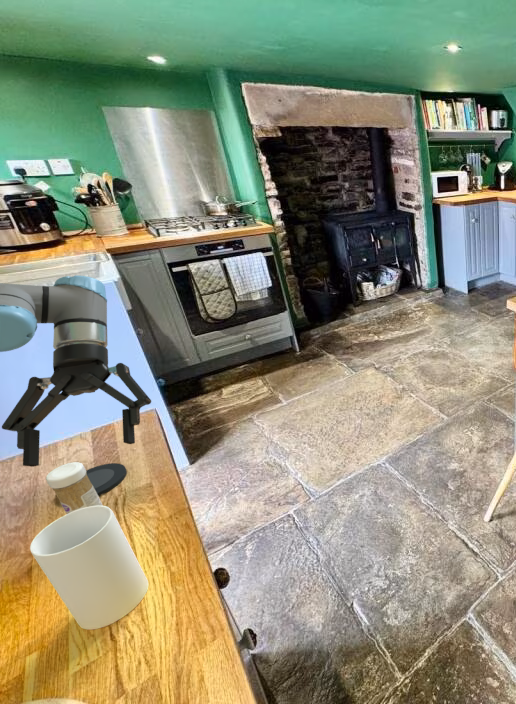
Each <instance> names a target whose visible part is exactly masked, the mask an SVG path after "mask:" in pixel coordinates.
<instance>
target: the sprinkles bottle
mask: <svg viewBox="0 0 516 704" xmlns="http://www.w3.org/2000/svg"><path fill="white" fill-rule="evenodd" d="M86 470H87V469H86V467H85V465H84V464H83V463H82V462H78V461H73V462H68V463H64V464H61V465H59V466H58V467H56V468H54V469H52V470H51V471H50V472H48V473H47V475H46V476H45V481H46V483H47V485H48V487H49V488H51V489H52V490H53V492H54V493H55V495H56V496H57V499H58V500H59V502H60V505H61V507H62V509H63V511H64V512H65V515H66V514H68V513H71V512H73V511H76V510H79V509H82V508H85V507H89V506H96V505H102V506H104V505H103V503H102V500H101V499H100V496H98V494H97V493H96V491H95V489H94V487H93V485H92V484H91V482H90V480H89V478H88V476H87V473H86Z"/></svg>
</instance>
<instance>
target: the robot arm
mask: <svg viewBox="0 0 516 704" xmlns="http://www.w3.org/2000/svg"><path fill="white" fill-rule="evenodd" d="M106 293H107V292H106V286H105V284H104V283H103V282H102V281H100V280H99V279H97V278H95V277H91V276H87V275H73V276H70V275H66V276H61V277H59V278H57V279H56V280H55V281H54V284H53V285H34V284H17V283H6V282H5V283H4V282H0V353H3V352H10V351H15V350H17V349H19V348H22V347H24V346H26V345H27V344H29V342H31V340H32V339H33V338H34V336H35V333H36V332H37V330H38V324H53V342H52V343H53V344H52V347H53V349H54V350H53V352H52V369H53V373H52V375H51V376H48V377H38V376H32V377H30V378H29V380H28V383H27V388H26V390H25V391H24V393H23V394H22V396H21V397H20V399H19V400H18V402H17V403H16V405H15V406H14V407H13V409H12V410H11V412H10V413H9V415H8V416H7V418H6V419H5V421H4V422H3V423H2V425H1V429H2V430H4V431H5V430H6V431H9V432H16V433H17V435H16V447H17V449H19V450H23V453H22V466H23V467H32V468H33V467H38V466H40V436H41V435H40V433H41V431H40V430H39V429H36V428H37V427H38V426H39V425H40V424H41V423H42V422H43V421H44V420H45V419H46V418H47V417H48V416H49V415H50V414H51V413H52V412H53V411H54V410H55V409H56V408H57V407H58V406H59V405H60V404H61V403H62V402H63V401H65V400H67V399H68V397H70V396H73V397H75V396H80V395H83V394H92V393H95V392H96V391H98V390H100V391H103V392H104V393H105V394H107V395H108V396H110V397H112V398H113V399H114V400H116V401H118V402H119V403H121V404H122V405H124V406H125V407H126V408H123V409H122V414H121V415H122V438H123V439H122V441H123V444H127V445H134V444H136V438H135V437H136V436H135V426H139V425H140V423H141V415H140V414H141V413H140V410H141V409H142V408H143V407H145V406H148V405H151V403H152V399H151V398H150V396H148V395H147V393H146V392H145V391H144V390H143V388H142V387H141V386H140V385H139V384H138V383H137V381H136V379H134V378H133V377H132V375H131V372H130V367H129V366H127V365H126V364H124V363H123V362H118V363H116V364H115V366H111V367H109V349H108V348H107V347H108V346H109V345H108V299H107V294H106ZM112 374H113V375H114V376H116V377H118V378H119V379H120V380H121V381H122V382H123V384H124V385H125V387H126V388H127V389H128V390H129V391H130V392H131V393H132V395H133V396H134V397H135V398H136V400H133V399H131V398H130V397H128V396H127V395H125V394H124V393H123V392H121V391H119V390H118V389H117V388H115V387H113V386H112V385H110V384H109V383H108V382H106V381H107V380H108V379H109V377H110V376H112ZM50 385H53V387H52V389H50V390H49V391H48V392H47V395H46V396H45V398H43V399H42V401H40V399H41V398H42V396H43V395H44V393H45V390H47V389H49V386H50ZM39 401H40V402H39ZM38 402H39V403H38ZM37 404H38V405H37Z"/></svg>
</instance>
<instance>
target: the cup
mask: <svg viewBox="0 0 516 704" xmlns="http://www.w3.org/2000/svg"><path fill="white" fill-rule="evenodd" d="M29 550H30V553H31V555H32V557H33V558H34V559H35V561H36V563H37V564H38V565H39V568H40V569H41V570H42V572H43V573H44V575H45V576H46V578H47V579H48V582H49V583H50V584H51V585H52V587H53V588H54V590H55V591H56V593H57V594H58V596H59V598H60V599H61V601H62V602H63V603H64V605H65V606H66V608H67V610H68V611H69V612H70V615H72V618H74V620H75V622H76V623H77V624H78V626H79V628H81V629H84V630H88V631H89V630H98V629H101V628H104V627H105V628H106V627H107V626H110V625H112V624H114V623H116V622H118V621H119V620H121V619H122V618H124V617H125V616H127V615H128V614H130V613H131V612H132V611H133V610H134V609H135V608H136V607H137V606H138V605H139V604H140V603H141V602H142V601H143V599H144V598H145V596H146V595H147V593H148V590H149V585H150V584H149V580H148V578H147V576H146V574H145V572H144V570H143V568H142V566H141V564H140V562H139V561H138V558H137V556H136V554H135V553H134V550H133V548H132V547H131V544H130V542H129V541H128V539H127V537H126V534H125V533H124V531H123V529H122V526H121V524H120V522H119V521H118V519H117V516H116V514H115V513H114V510H112V509H111V508H110V507H109V506H108V505H107V506H106V505H103V506H102V505H96V506H89V507H85V508H82V509H79V510H76V511H73V512H71V513H68V514H66V513H65V515H62V516H61V517H59V518H57V519H56V520H54V521H52V522H51V523H49V524H47V526H45V527H44V528H43V529H41V530H40V531H39V532H38V533H37V534H36V536H35V537H34V538H33V540H32V541H31V543H30V545H29Z"/></svg>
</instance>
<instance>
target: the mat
mask: <svg viewBox="0 0 516 704" xmlns="http://www.w3.org/2000/svg"><path fill="white" fill-rule="evenodd" d="M86 473H87V476H88V478H89V480H90V482H91V484H92V485H93V487H94V489H95V491H96V493H97V494H98V496H99V497H100V496H102V495H105V494H107V493H108V492H110V491H111V490H113V489H114V488H116V487H117V486H118V485H120V484H121V483H122V482H123V481H124V479H125V478H126V477H127V474H128V470H127V468H126V466H125V465H123V464H121V463H118V462H117V463H116V462H113V463H104V464H101V465H97V466H93V467H91V468H88V469H86Z"/></svg>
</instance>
